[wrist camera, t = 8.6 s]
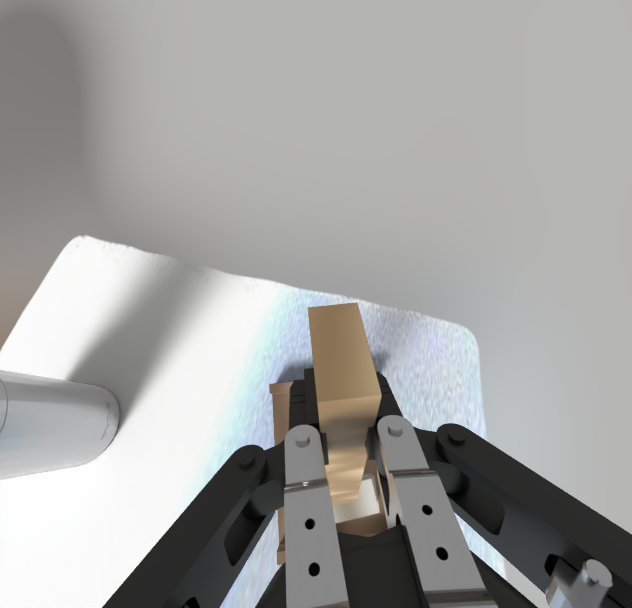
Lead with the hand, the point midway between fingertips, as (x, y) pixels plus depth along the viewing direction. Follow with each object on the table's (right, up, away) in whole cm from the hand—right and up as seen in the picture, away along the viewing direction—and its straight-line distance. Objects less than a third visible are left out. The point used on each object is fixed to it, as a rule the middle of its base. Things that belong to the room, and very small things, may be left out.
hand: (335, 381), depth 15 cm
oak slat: (+1, -9, +8) cm, 12 cm away
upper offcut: (+1, -16, +16) cm, 22 cm away
